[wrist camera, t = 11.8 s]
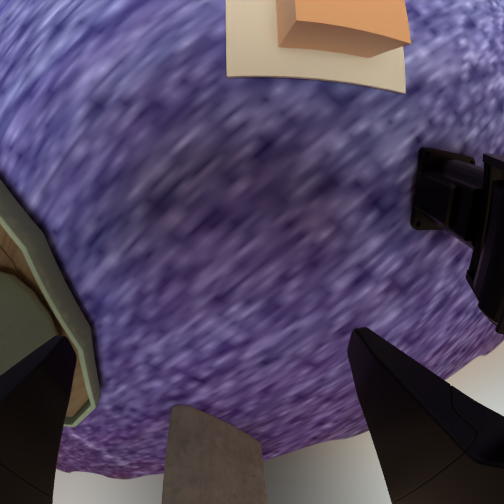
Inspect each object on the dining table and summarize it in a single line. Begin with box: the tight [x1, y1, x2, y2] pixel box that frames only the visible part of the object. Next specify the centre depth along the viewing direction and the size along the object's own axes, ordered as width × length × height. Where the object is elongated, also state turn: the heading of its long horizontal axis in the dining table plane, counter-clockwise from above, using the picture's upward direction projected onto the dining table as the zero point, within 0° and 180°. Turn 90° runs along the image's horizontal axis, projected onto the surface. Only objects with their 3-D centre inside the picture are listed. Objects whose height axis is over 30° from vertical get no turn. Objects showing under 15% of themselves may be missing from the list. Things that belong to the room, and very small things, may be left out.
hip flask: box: [162, 405, 267, 504], centre depth 22 cm, size 16×4×20 cm, turn 36°
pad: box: [226, 0, 406, 94], centre depth 12 cm, size 12×10×1 cm
